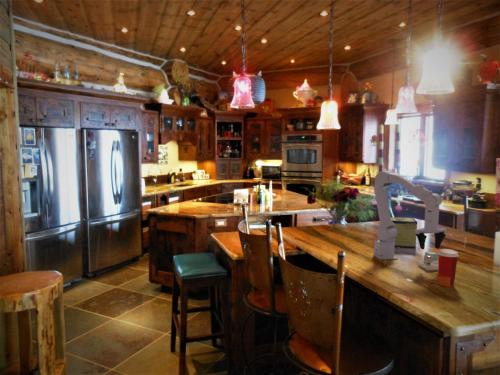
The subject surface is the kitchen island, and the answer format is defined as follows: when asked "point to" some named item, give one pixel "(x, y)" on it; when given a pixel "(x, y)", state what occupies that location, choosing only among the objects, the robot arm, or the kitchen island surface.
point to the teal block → (432, 255)
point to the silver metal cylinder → (428, 259)
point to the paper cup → (447, 267)
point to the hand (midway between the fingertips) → (429, 248)
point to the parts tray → (428, 268)
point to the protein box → (405, 232)
